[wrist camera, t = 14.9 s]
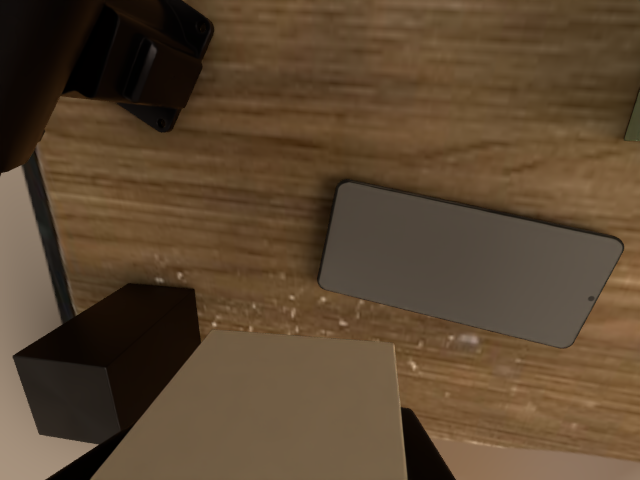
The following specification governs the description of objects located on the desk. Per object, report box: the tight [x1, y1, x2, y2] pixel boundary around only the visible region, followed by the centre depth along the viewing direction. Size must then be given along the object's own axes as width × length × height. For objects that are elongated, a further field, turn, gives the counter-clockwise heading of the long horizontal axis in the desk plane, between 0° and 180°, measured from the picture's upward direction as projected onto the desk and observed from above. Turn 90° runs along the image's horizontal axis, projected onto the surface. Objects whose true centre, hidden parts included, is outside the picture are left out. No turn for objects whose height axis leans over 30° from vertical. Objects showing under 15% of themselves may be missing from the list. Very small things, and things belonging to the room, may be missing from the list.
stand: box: [13, 283, 201, 444], centre depth 20 cm, size 5×5×8 cm
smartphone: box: [317, 179, 624, 348], centre depth 19 cm, size 7×1×15 cm
